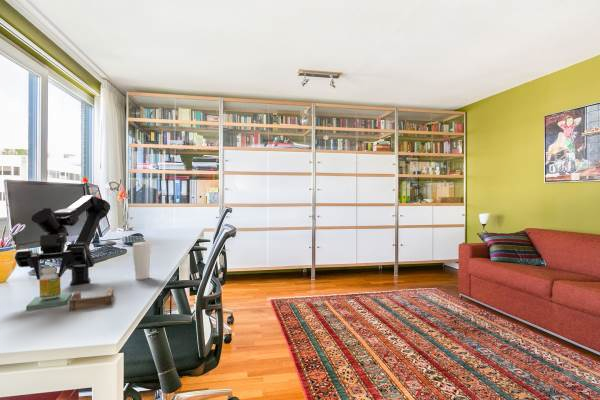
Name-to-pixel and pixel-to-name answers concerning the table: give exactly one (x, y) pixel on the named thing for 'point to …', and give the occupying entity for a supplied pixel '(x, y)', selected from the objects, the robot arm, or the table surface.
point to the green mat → (49, 301)
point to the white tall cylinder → (141, 259)
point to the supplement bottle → (49, 283)
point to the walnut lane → (90, 301)
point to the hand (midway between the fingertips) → (48, 277)
